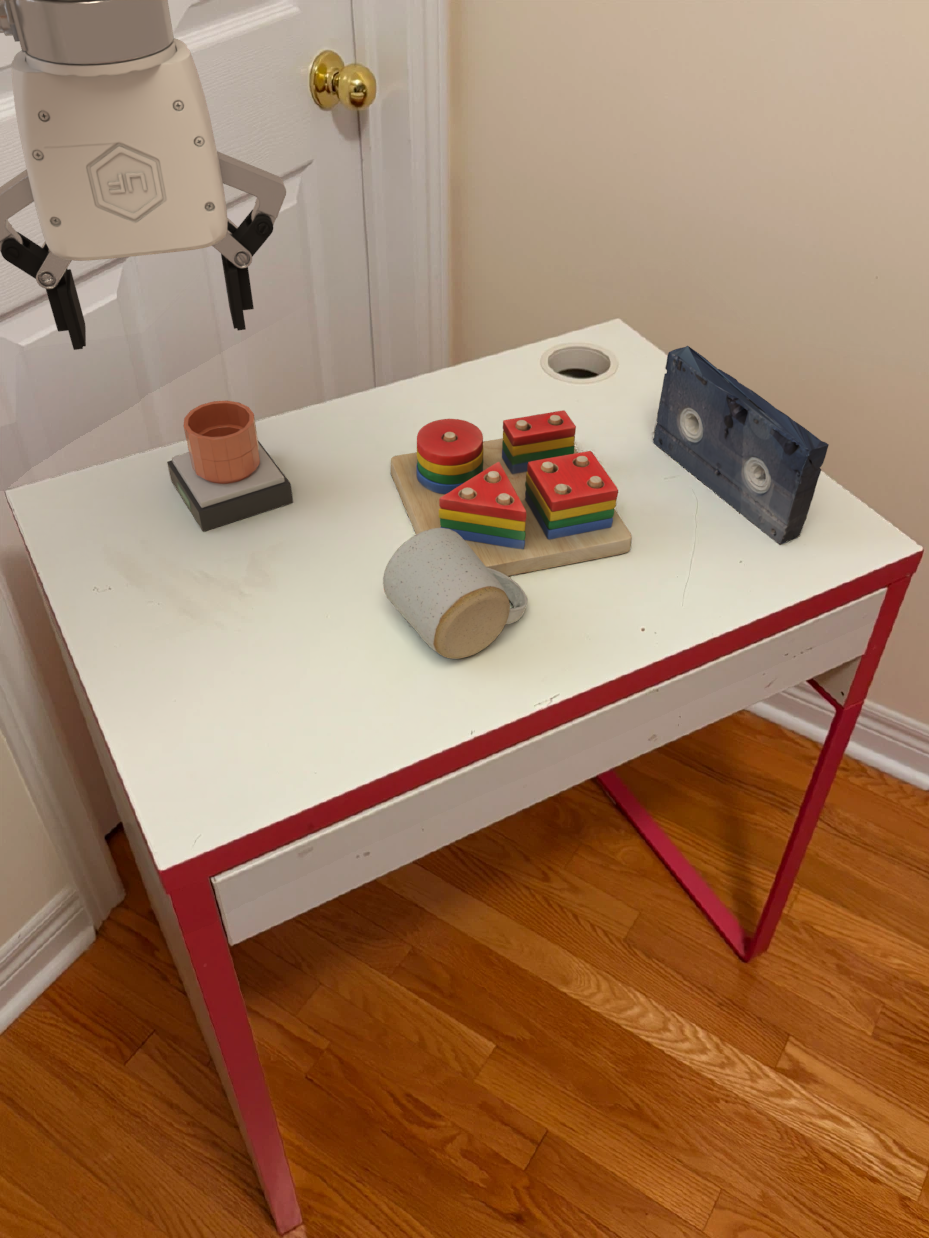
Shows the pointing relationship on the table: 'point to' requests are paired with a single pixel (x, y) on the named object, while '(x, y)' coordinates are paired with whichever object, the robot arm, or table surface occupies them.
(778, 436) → the vhs cassette tape
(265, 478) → the scale
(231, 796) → the table surface
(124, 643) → the table surface
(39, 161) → the robot arm
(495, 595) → the ceramic mug
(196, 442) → the terracotta pot
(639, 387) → the table surface
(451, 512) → the shape sorter
